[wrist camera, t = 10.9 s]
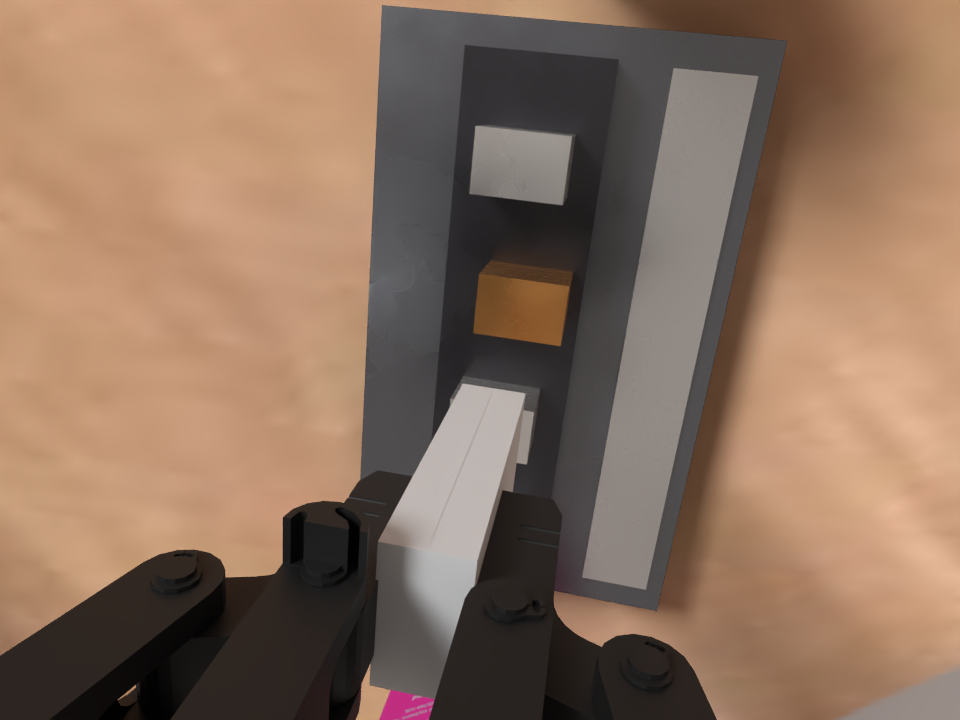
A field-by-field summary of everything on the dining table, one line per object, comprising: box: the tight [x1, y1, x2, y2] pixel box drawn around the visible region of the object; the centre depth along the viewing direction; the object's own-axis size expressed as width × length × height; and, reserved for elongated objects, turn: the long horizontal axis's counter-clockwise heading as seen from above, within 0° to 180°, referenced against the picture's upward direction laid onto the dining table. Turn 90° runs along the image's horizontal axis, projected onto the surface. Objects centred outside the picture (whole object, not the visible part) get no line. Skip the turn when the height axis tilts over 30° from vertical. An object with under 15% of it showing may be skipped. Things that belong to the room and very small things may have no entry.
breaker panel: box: [360, 5, 787, 611], centre depth 23 cm, size 20×12×6 cm, turn 174°
